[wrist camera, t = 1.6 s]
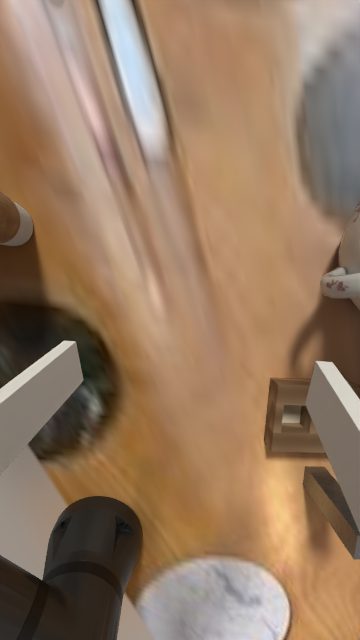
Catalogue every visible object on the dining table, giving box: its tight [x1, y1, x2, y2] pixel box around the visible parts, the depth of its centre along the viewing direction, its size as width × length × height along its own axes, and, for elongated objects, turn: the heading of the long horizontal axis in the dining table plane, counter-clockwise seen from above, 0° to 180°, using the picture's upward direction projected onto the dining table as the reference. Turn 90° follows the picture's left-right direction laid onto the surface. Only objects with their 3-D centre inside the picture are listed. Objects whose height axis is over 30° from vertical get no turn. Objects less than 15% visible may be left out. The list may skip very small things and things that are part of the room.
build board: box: [264, 378, 360, 453], centre depth 40 cm, size 11×13×3 cm
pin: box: [303, 467, 360, 559], centre depth 37 cm, size 3×3×12 cm
